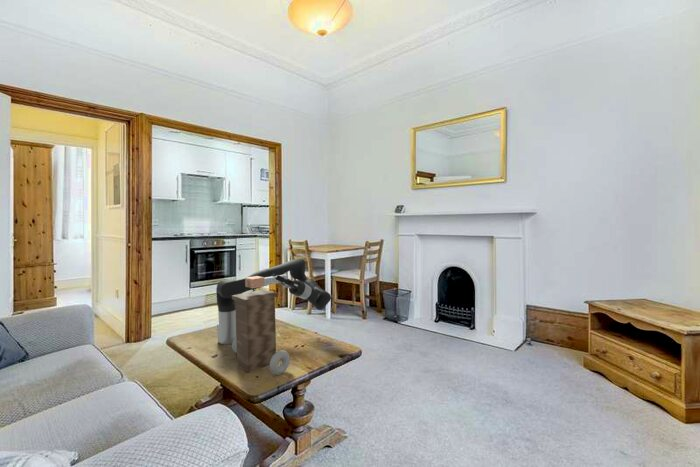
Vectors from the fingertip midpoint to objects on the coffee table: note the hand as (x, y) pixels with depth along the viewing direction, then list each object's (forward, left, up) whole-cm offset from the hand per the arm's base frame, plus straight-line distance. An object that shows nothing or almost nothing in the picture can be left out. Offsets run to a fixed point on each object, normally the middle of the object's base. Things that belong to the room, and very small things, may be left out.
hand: (274, 276), depth 155 cm
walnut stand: (-4, -10, -39) cm, 40 cm away
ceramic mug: (-17, -1, -39) cm, 43 cm away
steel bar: (-1, -3, -3) cm, 5 cm away
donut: (+11, -15, -39) cm, 43 cm away
